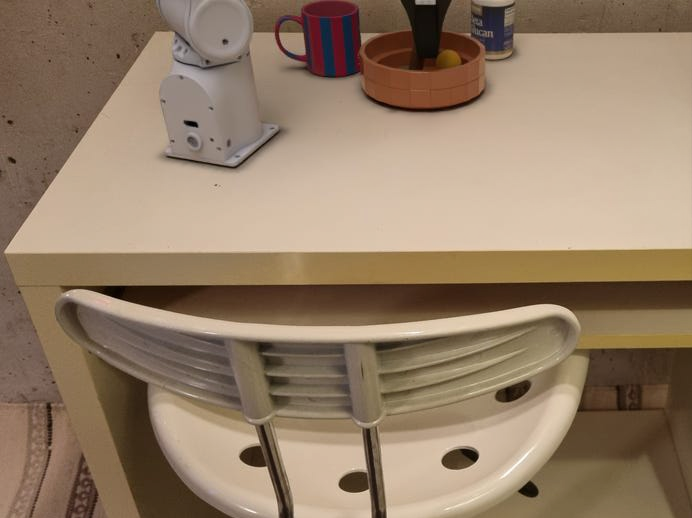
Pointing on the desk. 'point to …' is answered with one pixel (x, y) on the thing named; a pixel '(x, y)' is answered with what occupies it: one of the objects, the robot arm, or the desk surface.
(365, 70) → the bowl
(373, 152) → the desk surface
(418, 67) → the stick
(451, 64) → the ball
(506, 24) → the pill bottle
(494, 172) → the desk surface
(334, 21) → the mug
